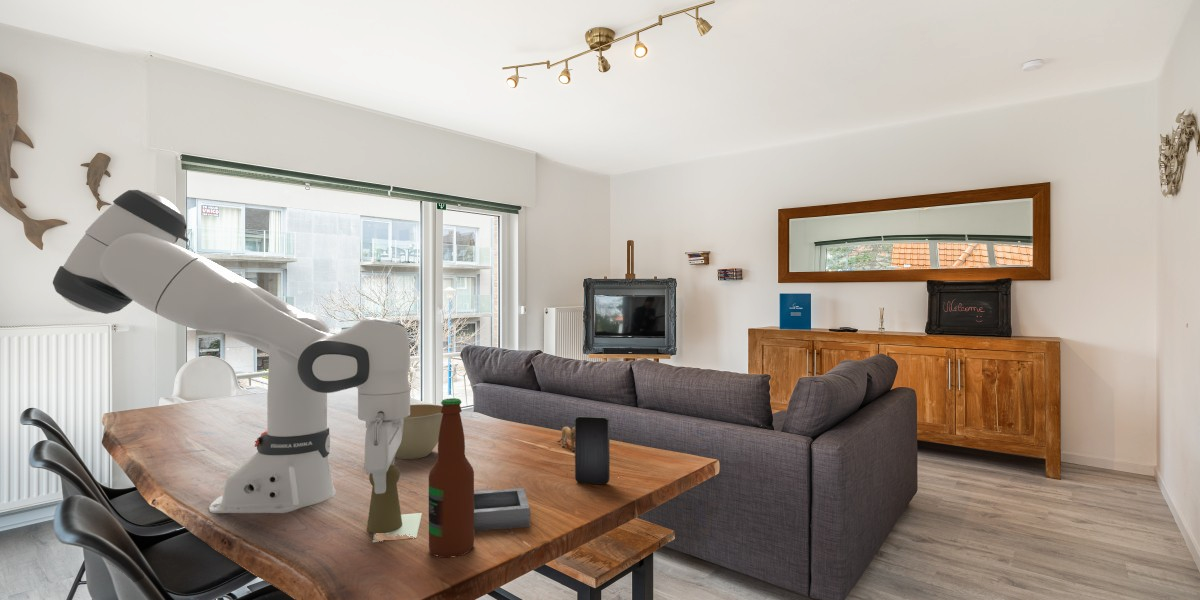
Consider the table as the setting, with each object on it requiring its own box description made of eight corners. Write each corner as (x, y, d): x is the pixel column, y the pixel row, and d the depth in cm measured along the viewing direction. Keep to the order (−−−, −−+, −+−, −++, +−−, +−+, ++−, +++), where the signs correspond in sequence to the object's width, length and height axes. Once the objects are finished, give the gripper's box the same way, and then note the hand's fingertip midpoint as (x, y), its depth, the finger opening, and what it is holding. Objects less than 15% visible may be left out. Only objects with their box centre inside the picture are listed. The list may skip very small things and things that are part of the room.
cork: (408, 521, 105) (408, 462, 105) (390, 534, 99) (389, 472, 99) (379, 519, 106) (379, 460, 106) (359, 531, 101) (359, 470, 101)
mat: (341, 547, 95) (341, 545, 95) (355, 520, 107) (355, 518, 107) (416, 540, 98) (416, 538, 98) (422, 514, 110) (422, 512, 110)
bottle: (444, 538, 99) (444, 395, 99) (482, 543, 97) (481, 397, 97) (419, 556, 92) (419, 402, 92) (459, 562, 90) (459, 404, 90)
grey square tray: (465, 532, 101) (465, 513, 101) (466, 509, 112) (466, 492, 112) (529, 527, 104) (529, 507, 104) (524, 505, 115) (523, 487, 115)
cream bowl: (386, 448, 159) (386, 405, 159) (452, 446, 161) (451, 403, 161) (367, 467, 141) (366, 418, 141) (441, 464, 143) (441, 416, 143)
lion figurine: (590, 450, 157) (590, 423, 157) (579, 453, 154) (579, 426, 154) (562, 442, 165) (562, 417, 165) (551, 445, 162) (551, 419, 162)
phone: (609, 483, 128) (609, 417, 128) (608, 485, 127) (608, 418, 127) (575, 481, 130) (575, 415, 130) (574, 482, 129) (574, 416, 129)
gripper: (395, 417, 93) (395, 502, 93) (408, 397, 113) (408, 466, 113) (354, 419, 92) (354, 505, 92) (374, 398, 111) (375, 468, 111)
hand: (384, 483), depth 102 cm, fingers open, 8 cm apart
